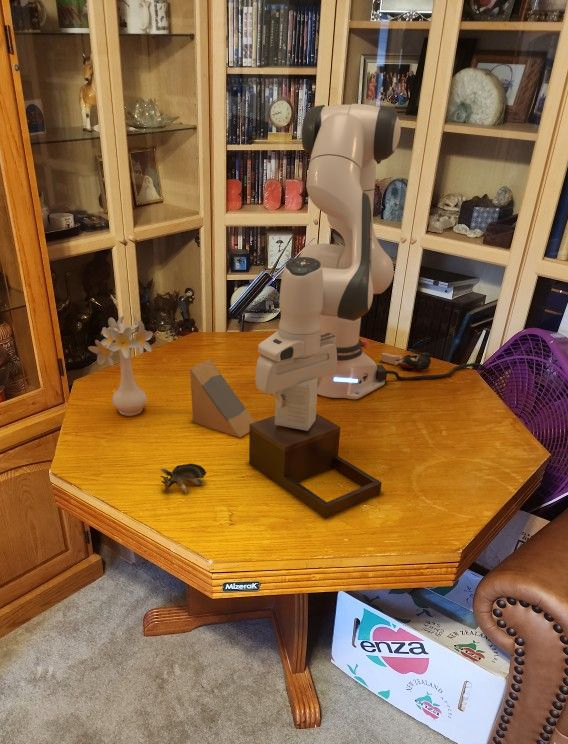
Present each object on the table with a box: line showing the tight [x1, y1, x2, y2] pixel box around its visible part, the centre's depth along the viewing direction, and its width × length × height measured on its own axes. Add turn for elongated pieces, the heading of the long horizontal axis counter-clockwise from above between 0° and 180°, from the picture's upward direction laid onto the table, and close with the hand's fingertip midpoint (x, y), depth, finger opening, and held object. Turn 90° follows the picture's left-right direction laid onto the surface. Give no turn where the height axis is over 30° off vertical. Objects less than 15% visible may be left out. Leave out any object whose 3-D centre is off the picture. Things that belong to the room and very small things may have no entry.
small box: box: [274, 378, 318, 431], centre depth 146 cm, size 8×6×10 cm
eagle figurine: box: [159, 463, 207, 494], centre depth 145 cm, size 8×7×9 cm
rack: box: [248, 412, 383, 519], centre depth 148 cm, size 16×27×10 cm, turn 36°
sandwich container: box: [189, 358, 256, 438], centre depth 168 cm, size 9×15×15 cm, turn 56°
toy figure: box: [381, 347, 432, 372], centre depth 203 cm, size 7×6×15 cm
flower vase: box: [87, 313, 154, 417], centre depth 171 cm, size 13×18×25 cm
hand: (296, 401), depth 146 cm, fingers closed on small box, 7 cm apart
